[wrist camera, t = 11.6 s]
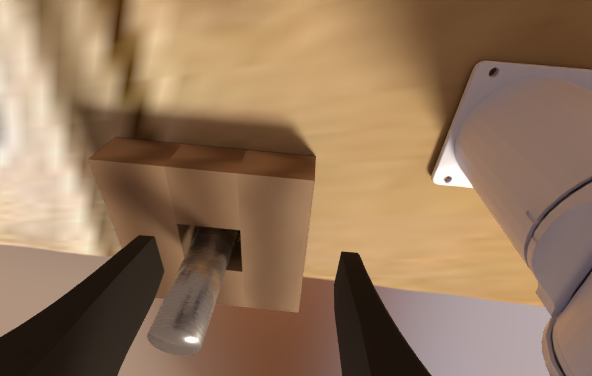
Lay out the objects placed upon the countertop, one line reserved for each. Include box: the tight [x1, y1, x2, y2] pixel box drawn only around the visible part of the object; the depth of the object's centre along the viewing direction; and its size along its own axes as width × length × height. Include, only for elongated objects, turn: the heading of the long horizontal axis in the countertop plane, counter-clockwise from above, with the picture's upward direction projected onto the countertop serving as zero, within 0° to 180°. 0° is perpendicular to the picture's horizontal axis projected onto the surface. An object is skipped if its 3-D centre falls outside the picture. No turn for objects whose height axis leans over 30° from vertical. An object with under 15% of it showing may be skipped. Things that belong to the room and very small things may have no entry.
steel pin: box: [147, 226, 239, 355], centre depth 21 cm, size 3×3×10 cm
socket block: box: [88, 138, 316, 312], centre depth 24 cm, size 14×14×3 cm
